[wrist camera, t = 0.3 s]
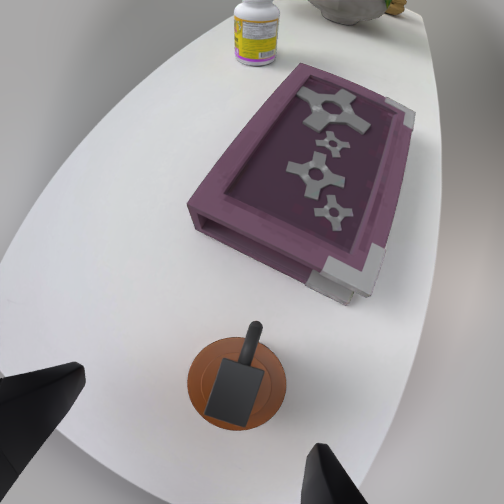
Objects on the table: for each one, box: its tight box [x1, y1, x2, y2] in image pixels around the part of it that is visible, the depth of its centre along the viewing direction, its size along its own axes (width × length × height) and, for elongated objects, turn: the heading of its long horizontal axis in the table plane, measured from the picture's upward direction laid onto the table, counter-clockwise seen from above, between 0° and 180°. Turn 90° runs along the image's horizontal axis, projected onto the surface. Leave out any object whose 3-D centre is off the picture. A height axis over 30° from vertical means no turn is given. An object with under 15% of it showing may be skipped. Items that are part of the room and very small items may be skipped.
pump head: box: [204, 321, 265, 427], centre depth 14 cm, size 6×2×2 cm, turn 162°
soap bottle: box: [187, 337, 286, 431], centre depth 19 cm, size 6×6×7 cm
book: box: [187, 63, 416, 305], centre depth 28 cm, size 25×16×5 cm, turn 153°
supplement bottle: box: [234, 0, 280, 66], centre depth 33 cm, size 7×7×13 cm
